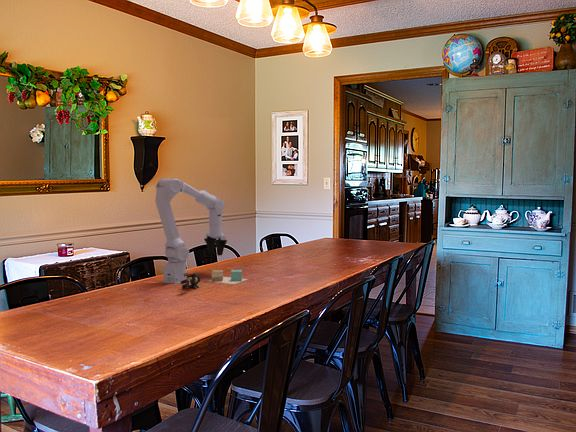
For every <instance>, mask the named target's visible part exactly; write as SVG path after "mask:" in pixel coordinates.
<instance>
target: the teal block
mask: <svg viewBox="0 0 576 432" xmlns="http://www.w3.org/2000/svg"><path fill="white" fill-rule="evenodd" d="M230 278H231V281H242V279H243V270H242V269H230ZM242 282H243V281H242Z"/></svg>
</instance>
